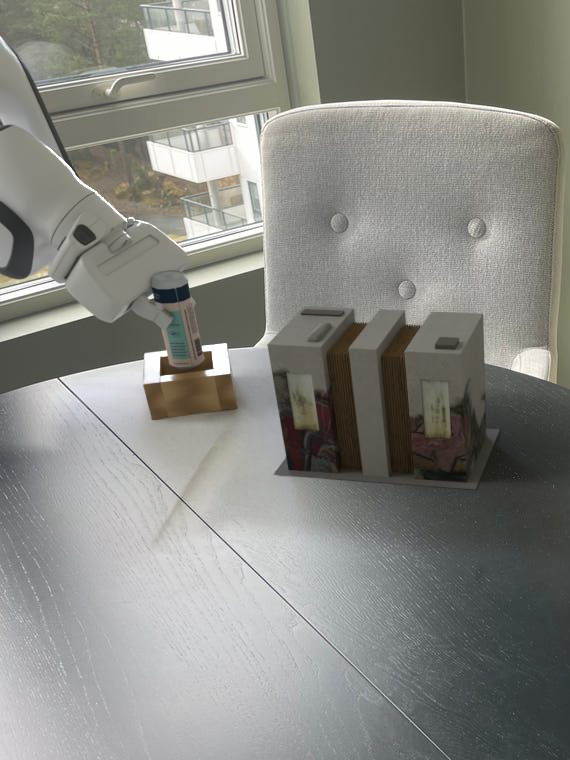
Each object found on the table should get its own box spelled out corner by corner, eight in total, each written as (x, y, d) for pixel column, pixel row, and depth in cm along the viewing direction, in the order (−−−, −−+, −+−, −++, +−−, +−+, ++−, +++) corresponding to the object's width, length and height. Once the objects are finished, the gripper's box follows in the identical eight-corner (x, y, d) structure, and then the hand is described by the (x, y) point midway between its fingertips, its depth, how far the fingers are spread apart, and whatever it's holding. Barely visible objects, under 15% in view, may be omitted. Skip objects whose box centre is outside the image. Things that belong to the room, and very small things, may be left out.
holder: (151, 419, 130) (142, 384, 127) (152, 386, 139) (144, 352, 136) (237, 408, 132) (230, 373, 129) (233, 376, 141) (226, 343, 138)
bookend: (475, 489, 113) (470, 354, 103) (272, 474, 117) (249, 343, 107) (500, 429, 125) (497, 303, 115) (315, 417, 129) (298, 295, 119)
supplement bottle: (199, 354, 135) (180, 266, 128) (210, 365, 132) (191, 276, 125) (165, 362, 133) (144, 273, 126) (175, 373, 130) (154, 283, 123)
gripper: (123, 231, 134) (203, 305, 138) (39, 279, 118) (132, 361, 123) (145, 198, 130) (226, 275, 135) (61, 243, 115) (156, 328, 119)
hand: (180, 316), depth 128 cm, fingers closed on supplement bottle, 5 cm apart
